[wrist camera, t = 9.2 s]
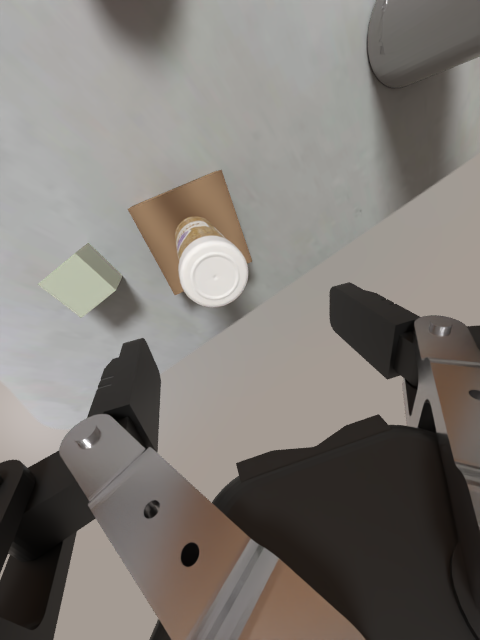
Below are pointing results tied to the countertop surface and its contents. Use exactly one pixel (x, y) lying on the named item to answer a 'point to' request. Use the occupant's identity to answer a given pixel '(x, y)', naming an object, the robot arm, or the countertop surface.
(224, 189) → the walnut block
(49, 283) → the sage cube
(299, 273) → the countertop surface
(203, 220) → the sprinkles bottle
